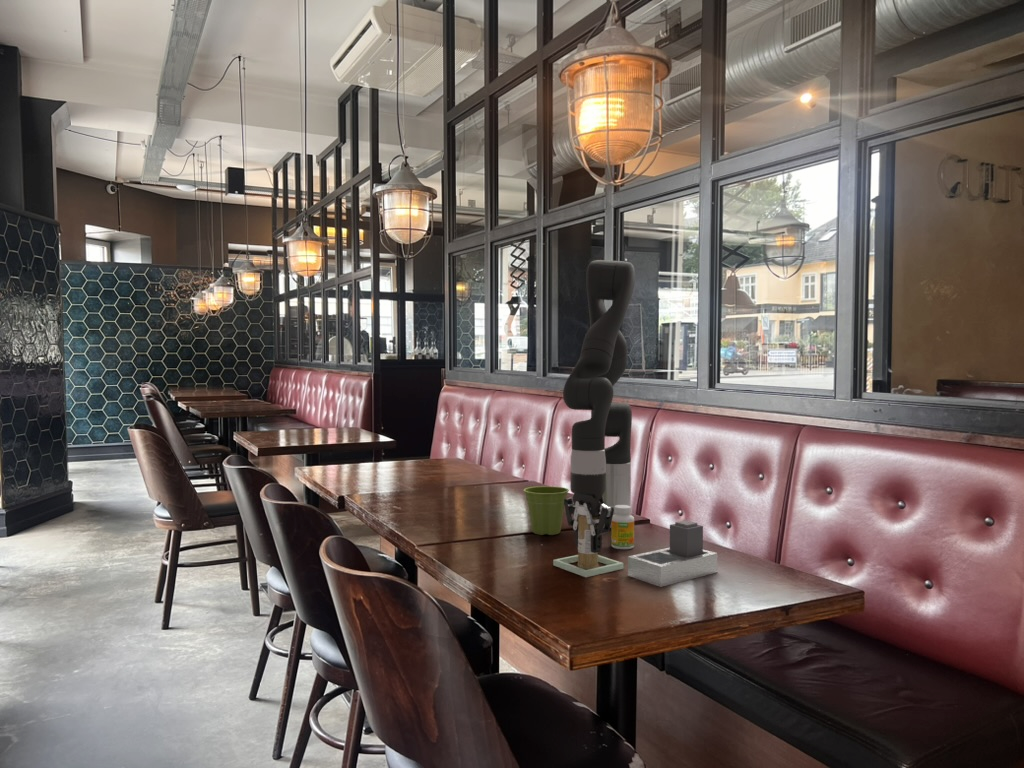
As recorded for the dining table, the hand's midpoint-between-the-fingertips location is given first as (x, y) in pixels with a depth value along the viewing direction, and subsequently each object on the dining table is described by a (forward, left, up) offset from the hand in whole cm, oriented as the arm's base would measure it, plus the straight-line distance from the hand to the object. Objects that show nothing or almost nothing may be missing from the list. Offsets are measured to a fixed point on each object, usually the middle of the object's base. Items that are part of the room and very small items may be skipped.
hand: (587, 549), depth 150 cm
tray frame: (0, 0, -4) cm, 4 cm away
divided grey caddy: (+14, +11, -4) cm, 18 cm away
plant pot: (-30, +12, -4) cm, 32 cm away
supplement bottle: (-8, +18, -4) cm, 20 cm away
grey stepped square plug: (+14, +15, -4) cm, 21 cm away
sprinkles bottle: (0, 0, -4) cm, 4 cm away
